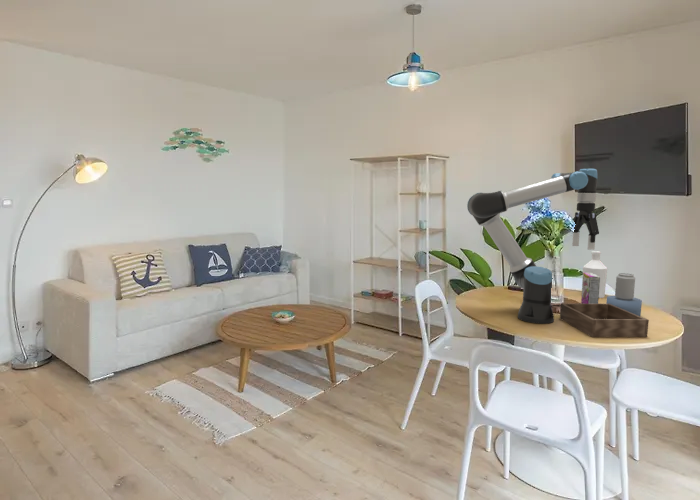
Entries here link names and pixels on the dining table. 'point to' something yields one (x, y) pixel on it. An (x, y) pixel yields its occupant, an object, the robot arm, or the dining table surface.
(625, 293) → the can
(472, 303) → the dining table surface
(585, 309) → the crate
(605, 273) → the bottle
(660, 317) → the dining table surface
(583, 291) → the candy bar box
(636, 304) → the stand
